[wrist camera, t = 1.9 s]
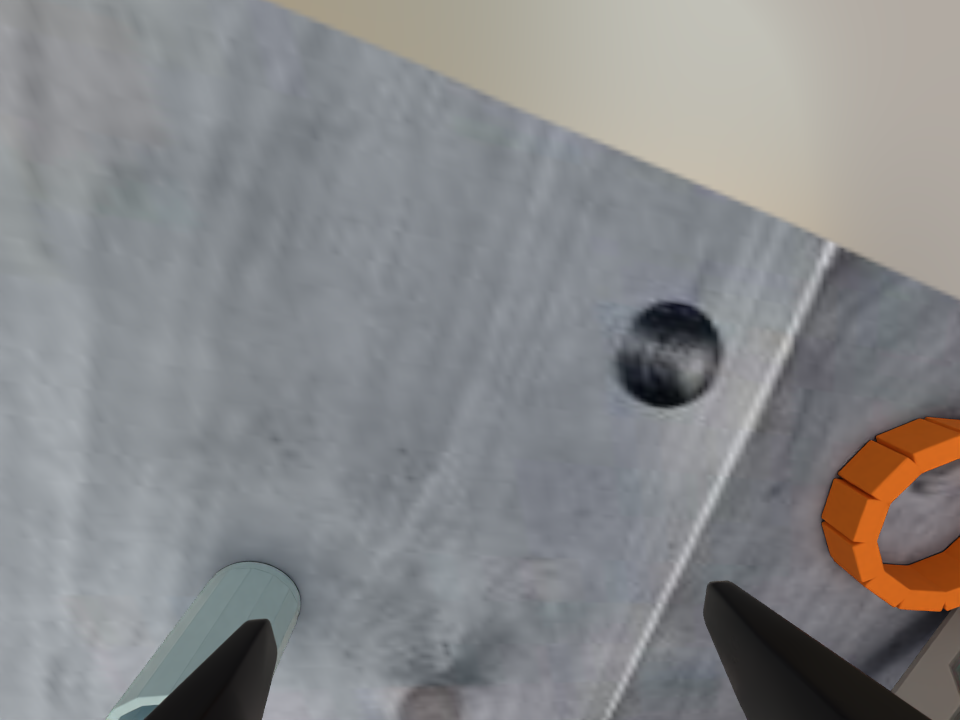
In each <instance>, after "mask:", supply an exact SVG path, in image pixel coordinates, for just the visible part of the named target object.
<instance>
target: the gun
mask: <svg viewBox="0 0 960 720" xmlns="http://www.w3.org/2000/svg"><path fill="white" fill-rule="evenodd" d="M891 692H892V693H894V694H895V695H897V696H898V697H900V698H901V699H903V700H904V701H905V702H907V703H908V704H910V705H911V706H913V707H914V708H916V709H917V710H919V711H920V712H921V713H923V714H924V715H926V716H927V717H929V718H930V719H932V720H960V606H959V607H956V608H954V609H951V611H950V612H949V613H948V615H947V616H946V618H945V619H944V620H943V622H942V623H941V624H940V626H939V627H938V628H937V630H936V631H935V632H934V634H933V635H932V636H931V638H930V639H929V640H928V642H927V643H926V644H925V646H924V647H923V648H922V650H921V651H920V653H919V654H918V655H917V657H916V658H915V659H914V661H913V662H912V663H911V665H910V666H909V667H908V669H907V670H906V671H905V673H904V674H903V675H902V677H901V678H900V679H899V681H898V682H897V683H896V685H895V686H894V688H893V689H892V690H891Z"/></svg>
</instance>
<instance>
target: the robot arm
mask: <svg viewBox="0 0 960 720" xmlns="http://www.w3.org/2000/svg"><path fill="white" fill-rule="evenodd" d="M703 616H704V620H705V624H706V626H707V629H708V631H709V633H710V636H711V638H712V640H713V643H714V645H715V647H716V650H717V652H718V654H719V657H720V659H721V662H722V664H723V666H724V669H725V671H726V673H727V676H728V678H729V680H730V683H731V685H732V687H733V690H734V692H735V694H736V696H737V699H738V701H739V703H740V705H741V707H742V709H743V711H744V713H745V715H746V717H747V719H748V720H932V719H930V718H929V717H927V716H926V715H924V714H923V713H921V712H920V711H919V710H917V709H916V708H914V707H913V706H911V705H910V704H908V703H907V702H905V701H904V700H903V699H901V698H900V697H898V696H897V695H895V694H894V693H892V692H891V691H889V690H888V689H887V688H885V687H884V686H882V685H881V684H879V683H878V682H876V681H875V680H873V679H872V678H871V677H869V676H868V675H866V674H865V673H863V672H862V671H860V670H859V669H857V668H856V667H854V666H853V665H852V664H850V663H849V662H847V661H846V660H844V659H843V658H841V657H840V656H838V655H837V654H836V653H834V652H833V651H831V650H830V649H828V648H827V647H825V646H824V645H822V644H821V643H820V642H818V641H817V640H815V639H814V638H812V637H811V636H809V635H808V634H806V633H805V632H803V631H802V630H801V629H799V628H798V627H796V626H795V625H793V624H792V623H790V622H789V621H787V620H786V619H785V618H783V617H782V616H780V615H779V614H777V613H776V612H774V611H773V610H771V609H770V608H769V607H767V606H766V605H764V604H763V603H761V602H760V601H758V600H757V599H755V598H754V597H752V596H751V595H750V594H748V593H747V592H745V591H744V590H742V589H741V588H739V587H738V586H736V585H735V584H734V583H732V582H730V581H713V582H709V584H708V585H707V589H706V596H705V602H704V609H703ZM276 661H277V645H276V641H275V637H274V633H273V629H272V626H271V623H270V621H269V620H268V619H266V618H264V619H252V620H248V621H246V622H244V623H243V624H242V625H241V626H240V627H239V628H238V629H237V630H236V631H235V632H234V633H233V634H232V635H231V636H230V637H229V638H228V639H227V640H225V641H224V642H223V643H222V644H221V645H220V646H219V647H218V648H217V649H216V650H215V651H214V652H213V653H212V654H211V655H210V656H209V657H208V658H207V659H206V660H205V661H204V662H203V663H202V664H201V665H200V666H198V667H197V668H196V669H195V670H194V671H193V672H192V673H191V674H190V675H189V676H188V677H187V678H186V679H185V680H184V681H183V682H182V683H181V684H180V685H179V686H178V687H177V688H176V689H175V690H174V691H173V692H171V693H170V694H169V695H168V696H167V697H166V698H165V699H164V700H163V701H162V702H161V703H160V704H159V705H158V706H157V707H156V708H155V709H154V710H153V711H152V712H151V713H150V714H149V715H148V716H147V717H145V718H144V719H143V720H262V717H263V713H264V709H265V705H266V701H267V697H268V693H269V689H270V685H271V681H272V677H273V673H274V669H275V665H276Z"/></svg>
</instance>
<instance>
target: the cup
mask: <svg viewBox="0 0 960 720" xmlns="http://www.w3.org/2000/svg"><path fill="white" fill-rule="evenodd" d="M300 606H301V603H300V596H299V593H298V590H297V588H296V586H295V584H294V583H293V582H292V580H291V579H290V578H289V577H288V576H287V575H285V574H284V573H283V572H282V571H280V570H278V569H277V568H274V567H272V566H270V565H267V564H263V563H259V562H240V563H235V564H232V565H229V566H227V567H225V568H223V569H222V570H220V571H219V572H217V573H216V574H215V575H214V576H213V578H212V579H211V580H210V581H209V582H208V583H207V585H206V586H205V587H204V589H203V590H202V591H201V593H200V594H199V595H198V597H197V598H196V599H195V601H194V602H193V603H192V605H191V606H190V607H189V609H188V610H187V611H186V612H185V614H184V615H183V616H182V618H181V619H180V620H179V622H178V623H177V624H176V626H175V627H174V628H173V630H172V631H171V632H170V634H169V635H168V636H167V638H166V639H165V640H164V642H163V643H162V644H161V646H160V647H159V648H158V650H157V651H156V652H155V654H154V655H153V656H152V658H151V659H150V660H149V661H148V663H147V664H146V665H145V667H144V668H143V669H142V671H141V672H140V673H139V675H138V676H137V677H136V679H135V680H134V681H133V683H132V684H131V685H130V687H129V688H128V689H127V691H126V692H125V693H124V695H123V696H122V697H121V699H120V700H119V701H118V703H117V704H116V705H115V707H114V708H113V709H112V711H111V712H110V713H109V715H108V716H107V718H106V719H105V720H143V719H144V718H145V717H147V716H148V715H149V714H150V713H151V712H152V711H153V710H154V709H155V708H156V707H157V706H158V705H159V704H160V703H161V702H162V701H163V700H164V699H165V698H166V697H167V696H168V695H169V694H170V693H171V692H173V691H174V690H175V689H176V688H177V687H178V686H179V685H180V684H181V683H182V682H183V681H184V680H185V679H186V678H187V677H188V676H189V675H190V674H191V673H192V672H193V671H194V670H195V669H196V668H197V667H198V666H200V665H201V664H202V663H203V662H204V661H205V660H206V659H207V658H208V657H209V656H210V655H211V654H212V653H213V652H214V651H215V650H216V649H217V648H218V647H219V646H220V645H221V644H222V643H223V642H224V641H225V640H227V639H228V638H229V637H230V636H231V635H232V634H233V633H234V632H235V631H236V630H237V629H238V628H239V627H240V626H241V625H242V624H243V623H244V622H246V621H248V620H252V619H264V618H266V619H268V620H269V621H270V623H271V626H272V629H273V633H274V637H275V641H276V645H277V661H276V665H275V669H274V673H275V670H276V668H277V666H278V663H279V661H280V659H281V657H282V654H283V652H284V650H285V648H286V645H287V643H288V641H289V638H290V636H291V634H292V632H293V629H294V627H295V625H296V621H297V618H298V615H299V612H300ZM274 673H273V675H274Z"/></svg>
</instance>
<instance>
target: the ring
mask: <svg viewBox="0 0 960 720" xmlns="http://www.w3.org/2000/svg"><path fill="white" fill-rule="evenodd" d="M876 440H877V442H874V441H872V440H870V441H869V442H868V443H867V444H866V445H865V446H864V447H863V448H862V449H861V450H860V451H859V452H858V453H857V454H856V455H855V456H854V457H853V458H852V459H851V460H850V461H849V462H848V463H847V464H846V465H845V466H844V467H843V468H842V469H841V470H840V471H839V472H838V474H839V476H841V477H842V478H843V479H834V480H833V483H832V486H831V489H830V492H829V495H828V498H827V501H826V505H825V508H824V511H823V514H822V519H824V520H825V521H824V522H822V527H823V530H824V534H825V538H826V541H827V545H828V548H829V552H830V555H831V557H832V558H834V561H835V562H836V563H837V564H838V565H839V566H841V567H842V568H843V569H844V570H845V571H847V572H848V573H849V574H850V575H851V576H853V577H854V578H855V579H856V580H857V581H858V582H860V583H861V584H862V585H863V586H864V587H866V588H867V589H869V590H870V591H871V592H873V593H874V594H875V595H877V596H878V597H880V598H881V599H882V600H884V601H885V602H887V603H888V604H889V605H891V606H892V607H897V608H899V609H904V610H921V611H938V612H940V611H942V608H944V609H945V610H946V611H948V610H951V609H954V608H956V607H959V606H960V537H959V538H958V539H957V540H956V541H955V542H954V543H953V544H951V545H950V546H949V547H948V548H947V549H946V550H945V551H944V552H942V553H939V554H937V555H934V556H931V557H929V558H926V559H924V560H921V561H918V562H916V563H913V564H911V565H892V564H883V563H882V559H881V555H880V551H879V547H878V543H877V539H878V537H879V534H880V531H881V528H882V526H883V523H884V520H885V517H886V515H887V512H888V509H889V507H890V504H891V503H892V502H893V501H894V500H895V499H896V498H897V497H898V496H899V495H900V494H901V493H902V492H903V491H904V490H905V489H906V488H907V487H908V486H909V485H910V484H911V483H912V482H913V481H914V480H915V479H916V478H917V477H918V476H919V475H920V474H921V473H924V472H926V471H929V470H931V469H934V468H936V467H939V466H942V465H944V464H947V463H949V462H952V461H954V460H957V459H959V458H960V420H955V419H944V418H932V417H926V418H925V420H923V419H917V420H914V421H912V422H909V423H907V424H904V425H902V426H900V427H897V428H895V429H892V430H890V431H887V432H885V433H882V434H880V435H877V436H876Z"/></svg>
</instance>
